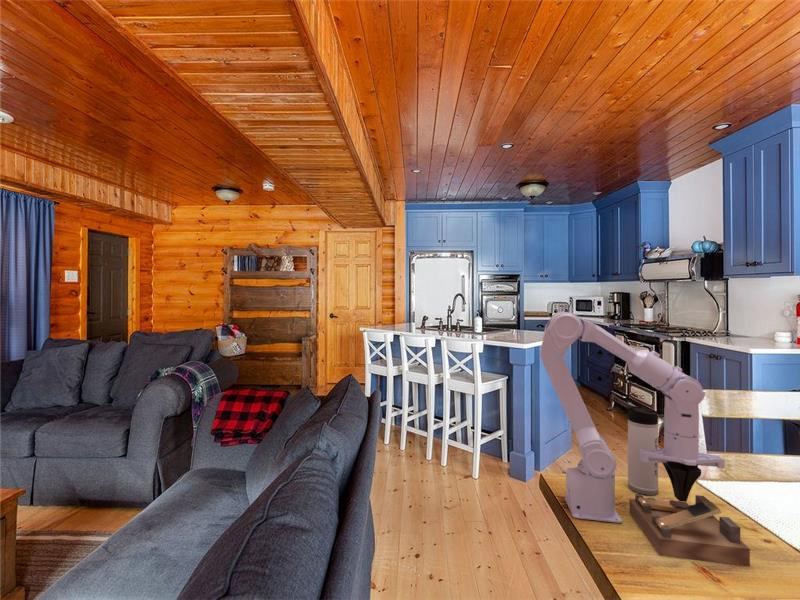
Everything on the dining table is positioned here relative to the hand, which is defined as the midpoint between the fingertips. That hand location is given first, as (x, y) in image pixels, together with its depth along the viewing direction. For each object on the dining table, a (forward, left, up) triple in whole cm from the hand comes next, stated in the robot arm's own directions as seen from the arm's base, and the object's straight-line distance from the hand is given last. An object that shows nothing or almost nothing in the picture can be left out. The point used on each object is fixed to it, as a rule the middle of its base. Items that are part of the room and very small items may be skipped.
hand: (680, 498), depth 78 cm
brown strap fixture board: (-1, -4, -5) cm, 7 cm away
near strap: (-2, -8, 0) cm, 8 cm away
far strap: (-2, 0, -2) cm, 3 cm away
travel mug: (-1, +15, -6) cm, 16 cm away
